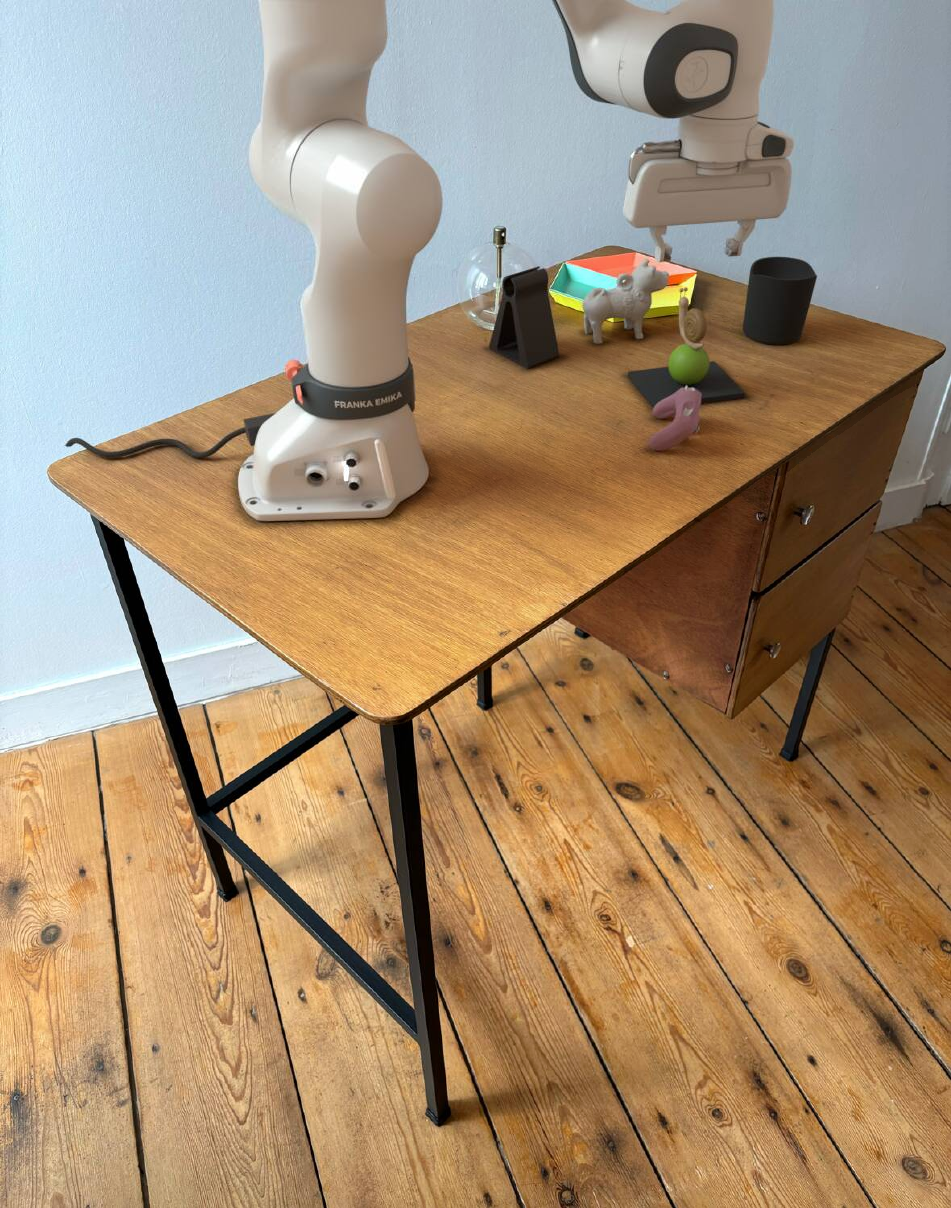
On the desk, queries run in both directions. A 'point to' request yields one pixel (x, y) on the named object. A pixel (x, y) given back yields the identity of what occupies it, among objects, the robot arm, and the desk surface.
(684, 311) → the snail figurine
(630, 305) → the dog figurine
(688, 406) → the video game controller
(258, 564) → the desk surface
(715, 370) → the mat
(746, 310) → the pen holder
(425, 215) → the robot arm
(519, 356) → the phone stand
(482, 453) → the desk surface
